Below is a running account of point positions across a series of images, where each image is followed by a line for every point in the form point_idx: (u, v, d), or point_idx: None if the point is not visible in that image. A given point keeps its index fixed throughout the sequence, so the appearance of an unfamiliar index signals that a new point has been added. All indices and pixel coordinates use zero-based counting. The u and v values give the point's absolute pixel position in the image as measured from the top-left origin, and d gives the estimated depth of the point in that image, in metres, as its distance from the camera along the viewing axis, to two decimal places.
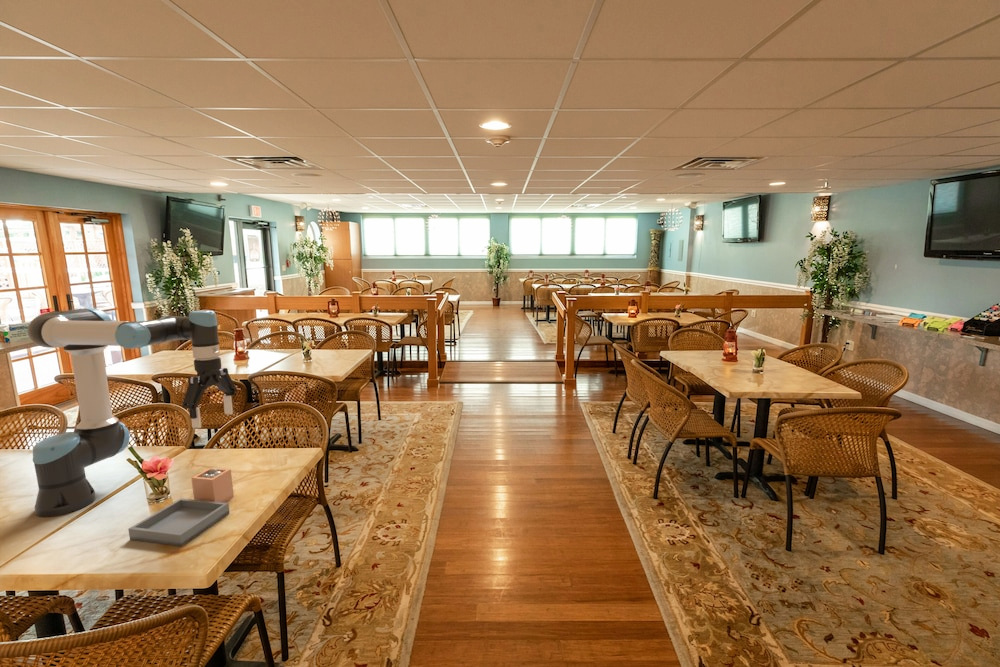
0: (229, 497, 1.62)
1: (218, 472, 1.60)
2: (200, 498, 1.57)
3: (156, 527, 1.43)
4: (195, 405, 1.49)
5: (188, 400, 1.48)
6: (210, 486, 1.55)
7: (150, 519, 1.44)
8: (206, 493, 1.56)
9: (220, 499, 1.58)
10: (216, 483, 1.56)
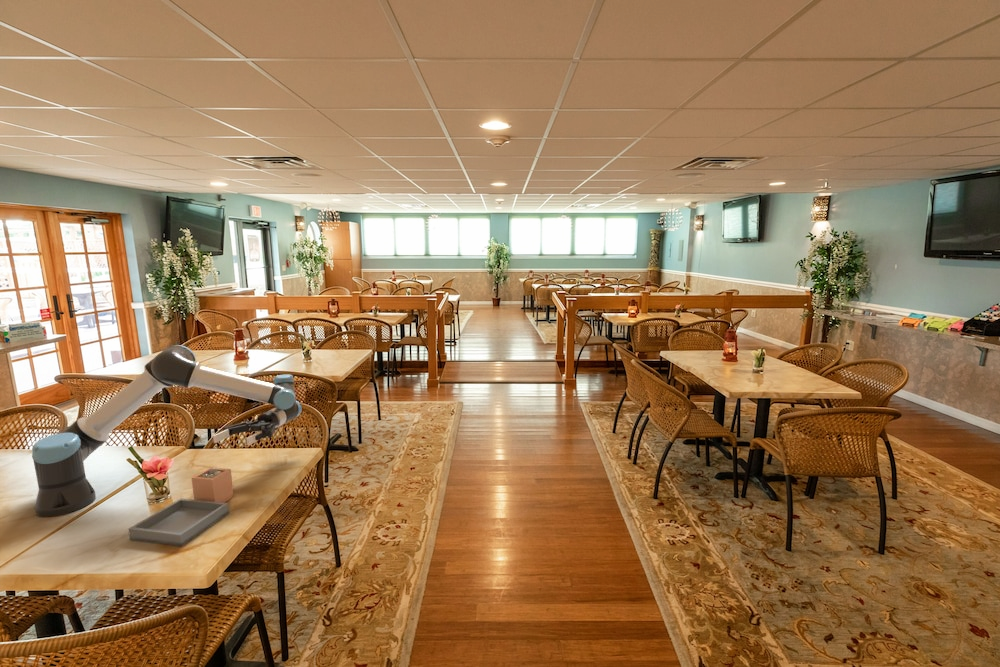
0: (229, 497, 1.62)
1: (218, 472, 1.60)
2: (200, 498, 1.57)
3: (156, 527, 1.43)
4: None
5: (272, 433, 1.75)
6: (210, 486, 1.55)
7: (150, 519, 1.44)
8: (206, 493, 1.56)
9: (220, 499, 1.58)
10: (216, 483, 1.56)
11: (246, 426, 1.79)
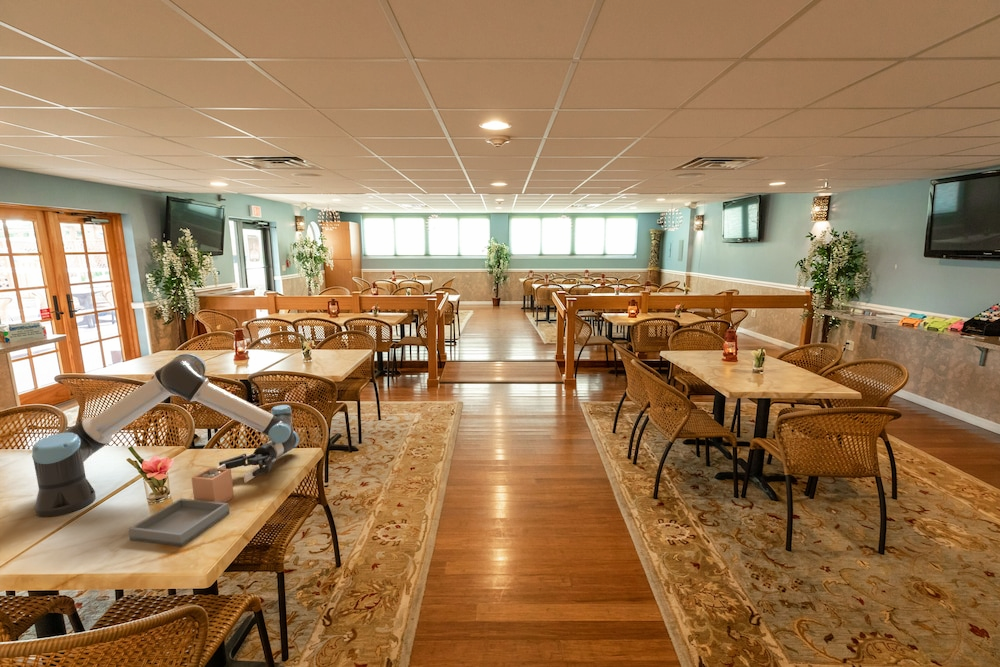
0: (229, 497, 1.62)
1: (218, 472, 1.60)
2: (200, 498, 1.57)
3: (156, 527, 1.43)
4: None
5: (269, 468, 1.73)
6: (210, 486, 1.55)
7: (150, 519, 1.44)
8: (206, 493, 1.56)
9: (220, 499, 1.58)
10: (216, 483, 1.56)
11: (243, 460, 1.77)
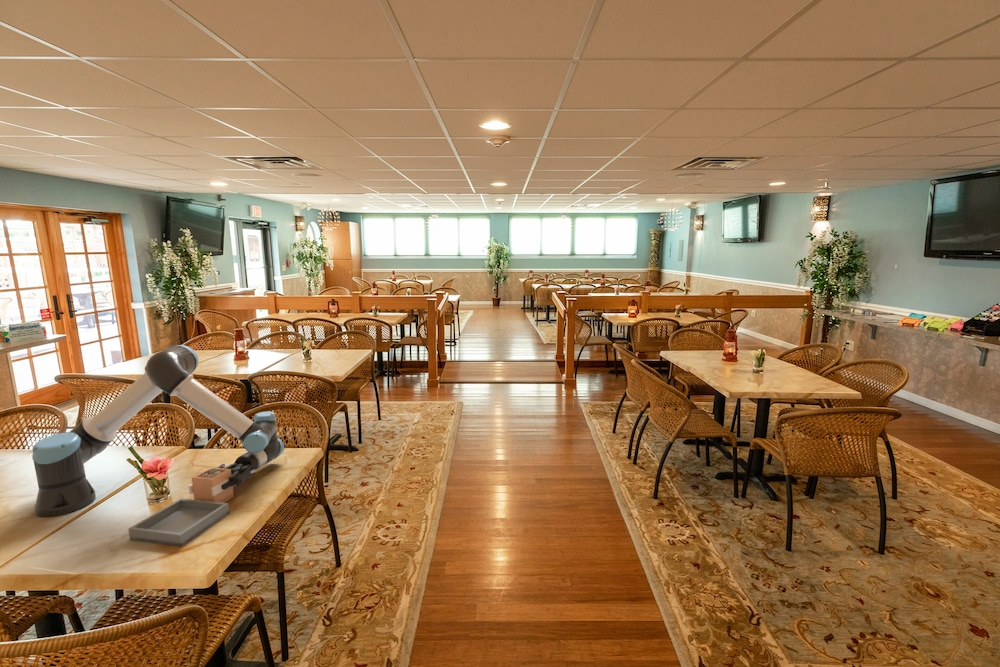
0: (229, 497, 1.62)
1: (218, 472, 1.60)
2: (200, 498, 1.57)
3: (156, 527, 1.43)
4: None
5: (242, 480, 1.63)
6: (210, 486, 1.55)
7: (150, 519, 1.44)
8: (206, 493, 1.56)
9: (220, 499, 1.58)
10: (216, 483, 1.56)
11: None
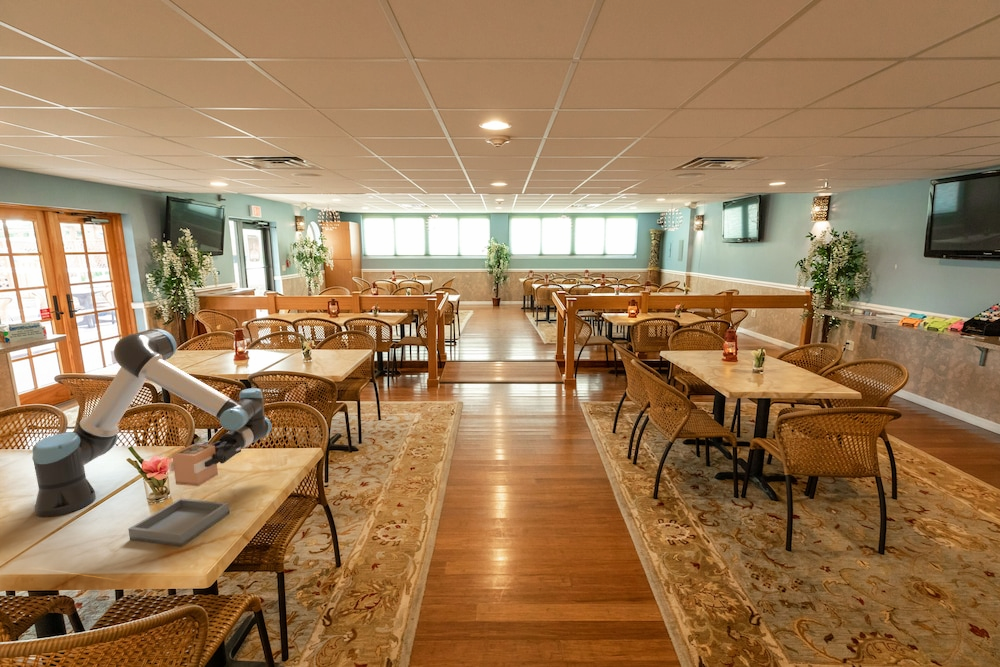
0: (213, 475, 1.52)
1: (201, 448, 1.50)
2: (181, 476, 1.47)
3: (156, 527, 1.43)
4: None
5: (227, 458, 1.54)
6: (192, 463, 1.46)
7: (150, 519, 1.44)
8: (188, 470, 1.46)
9: (203, 477, 1.49)
10: (199, 459, 1.47)
11: None
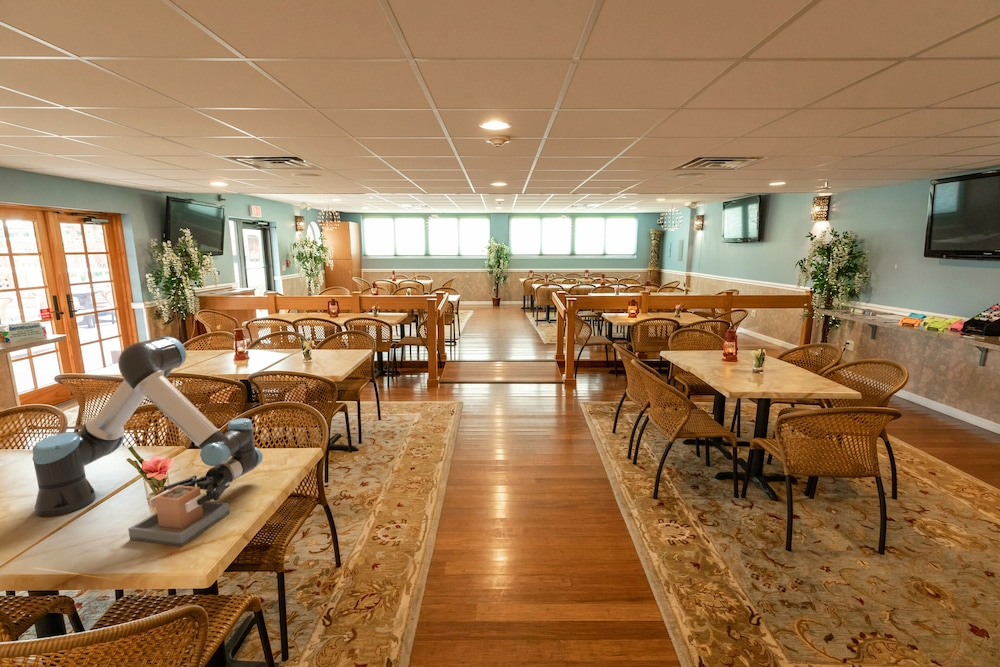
0: (198, 518, 1.47)
1: (185, 491, 1.45)
2: (165, 520, 1.42)
3: (156, 527, 1.43)
4: None
5: (219, 494, 1.49)
6: (175, 507, 1.40)
7: (150, 519, 1.44)
8: (171, 514, 1.41)
9: (187, 521, 1.43)
10: (182, 503, 1.41)
11: (192, 484, 1.53)
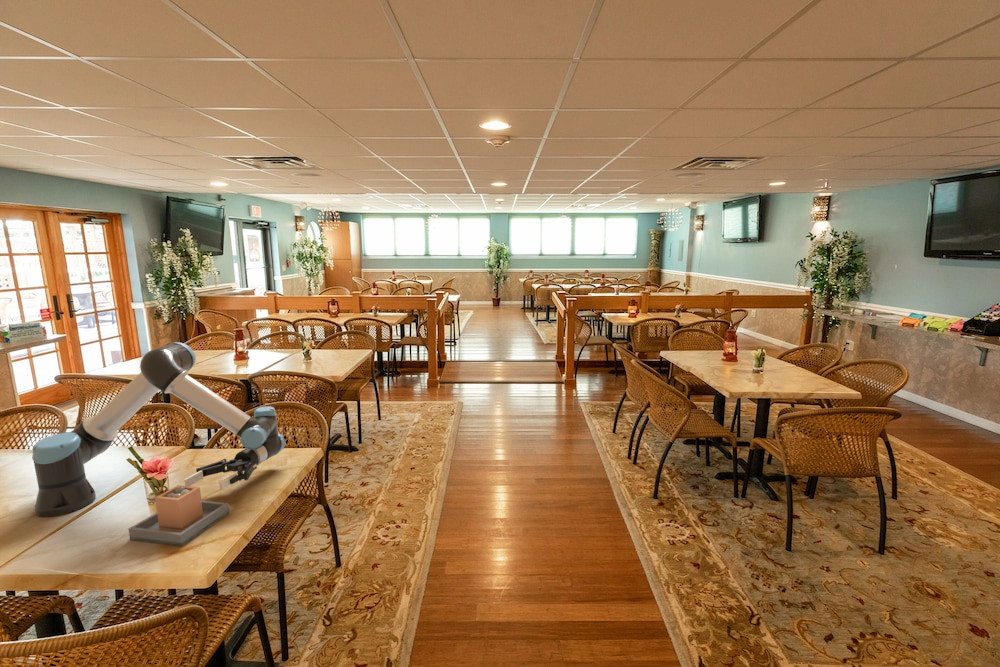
0: (198, 518, 1.47)
1: (185, 491, 1.45)
2: (165, 520, 1.42)
3: (156, 527, 1.43)
4: None
5: (249, 474, 1.61)
6: (175, 507, 1.40)
7: (150, 519, 1.44)
8: (171, 514, 1.41)
9: (187, 521, 1.43)
10: (182, 503, 1.41)
11: (222, 466, 1.66)
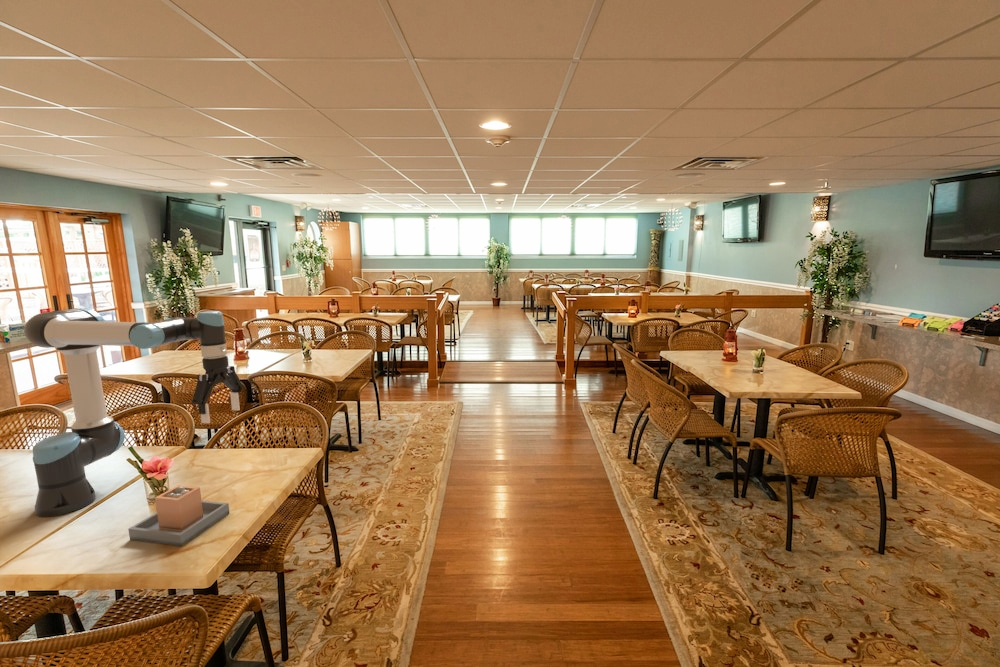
0: (198, 518, 1.47)
1: (185, 491, 1.45)
2: (165, 520, 1.42)
3: (156, 527, 1.43)
4: (204, 401, 1.57)
5: (197, 397, 1.55)
6: (175, 507, 1.40)
7: (150, 519, 1.44)
8: (171, 514, 1.41)
9: (187, 521, 1.43)
10: (182, 503, 1.41)
11: None
